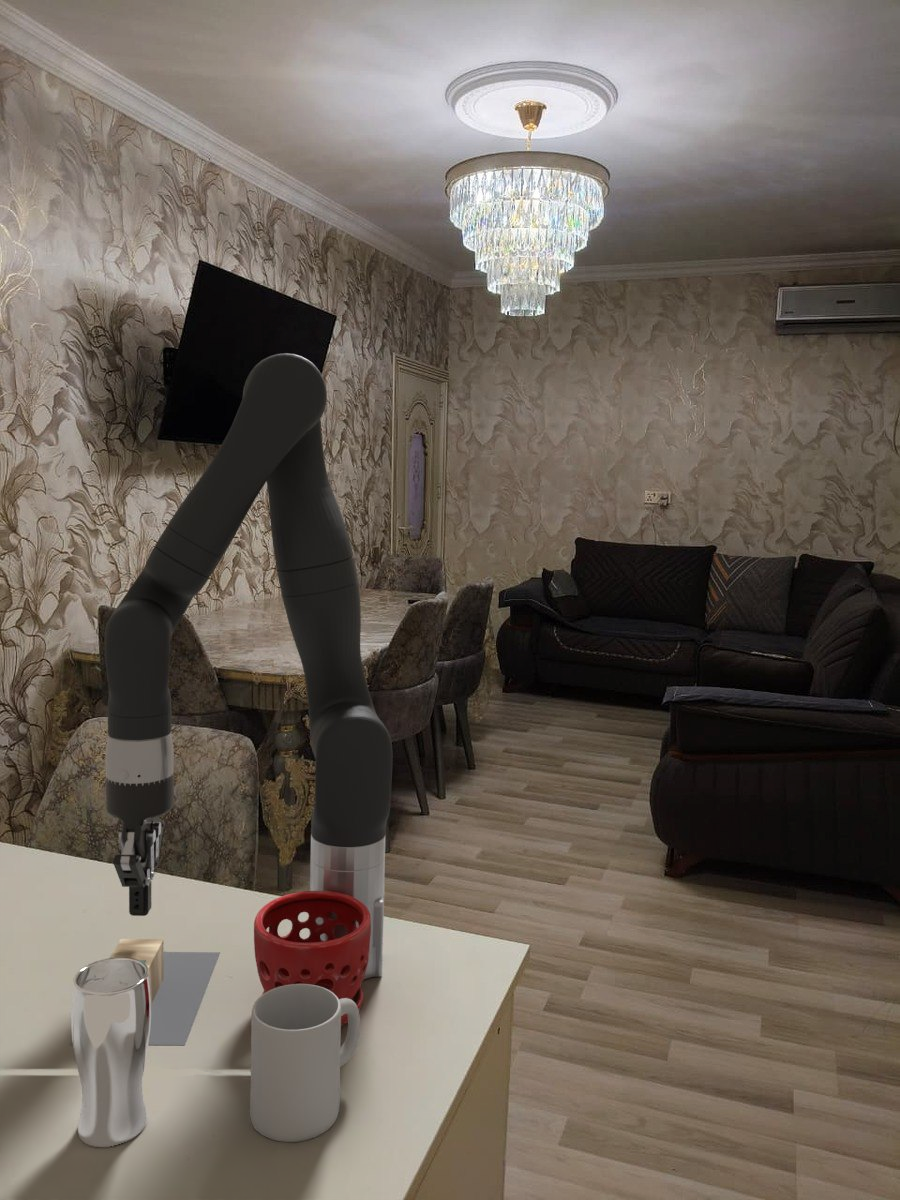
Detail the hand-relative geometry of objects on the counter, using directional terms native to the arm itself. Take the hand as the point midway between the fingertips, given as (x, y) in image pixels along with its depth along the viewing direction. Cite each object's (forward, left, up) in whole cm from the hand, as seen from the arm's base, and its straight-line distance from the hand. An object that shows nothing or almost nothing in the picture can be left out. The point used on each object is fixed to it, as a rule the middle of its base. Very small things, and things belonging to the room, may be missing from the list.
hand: (140, 912), depth 112 cm
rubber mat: (-2, +3, -9) cm, 10 cm away
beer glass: (-4, +25, -9) cm, 27 cm away
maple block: (0, 0, -6) cm, 6 cm away
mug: (-22, +22, -9) cm, 33 cm away
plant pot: (-21, +6, -9) cm, 24 cm away
